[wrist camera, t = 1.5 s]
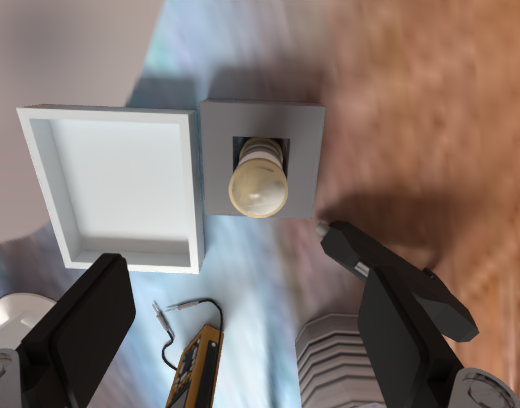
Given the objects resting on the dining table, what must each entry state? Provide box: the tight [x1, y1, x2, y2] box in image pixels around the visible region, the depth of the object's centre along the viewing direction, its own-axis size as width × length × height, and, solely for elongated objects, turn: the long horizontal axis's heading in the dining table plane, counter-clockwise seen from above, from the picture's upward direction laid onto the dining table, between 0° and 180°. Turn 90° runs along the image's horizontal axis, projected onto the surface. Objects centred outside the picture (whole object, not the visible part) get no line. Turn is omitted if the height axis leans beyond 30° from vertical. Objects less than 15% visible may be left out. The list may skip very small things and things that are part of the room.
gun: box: [315, 221, 479, 342], centre depth 29 cm, size 3×16×10 cm, turn 64°
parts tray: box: [16, 104, 205, 274], centre depth 28 cm, size 16×14×3 cm
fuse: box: [229, 137, 288, 218], centre depth 23 cm, size 4×4×9 cm
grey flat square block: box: [200, 99, 326, 219], centre depth 26 cm, size 10×10×3 cm
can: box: [295, 313, 387, 408], centre depth 32 cm, size 11×11×12 cm
